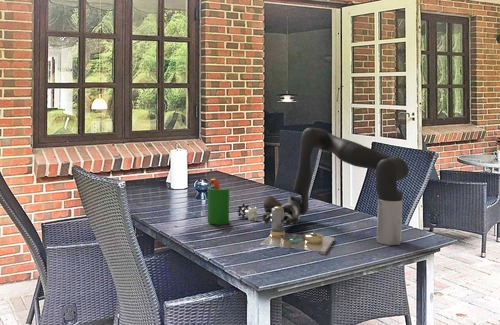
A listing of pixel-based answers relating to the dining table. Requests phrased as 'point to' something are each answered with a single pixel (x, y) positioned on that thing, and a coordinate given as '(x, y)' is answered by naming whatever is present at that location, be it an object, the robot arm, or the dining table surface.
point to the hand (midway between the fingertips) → (276, 221)
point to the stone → (271, 203)
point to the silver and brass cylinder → (277, 222)
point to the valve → (248, 212)
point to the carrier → (301, 241)
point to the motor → (218, 204)
